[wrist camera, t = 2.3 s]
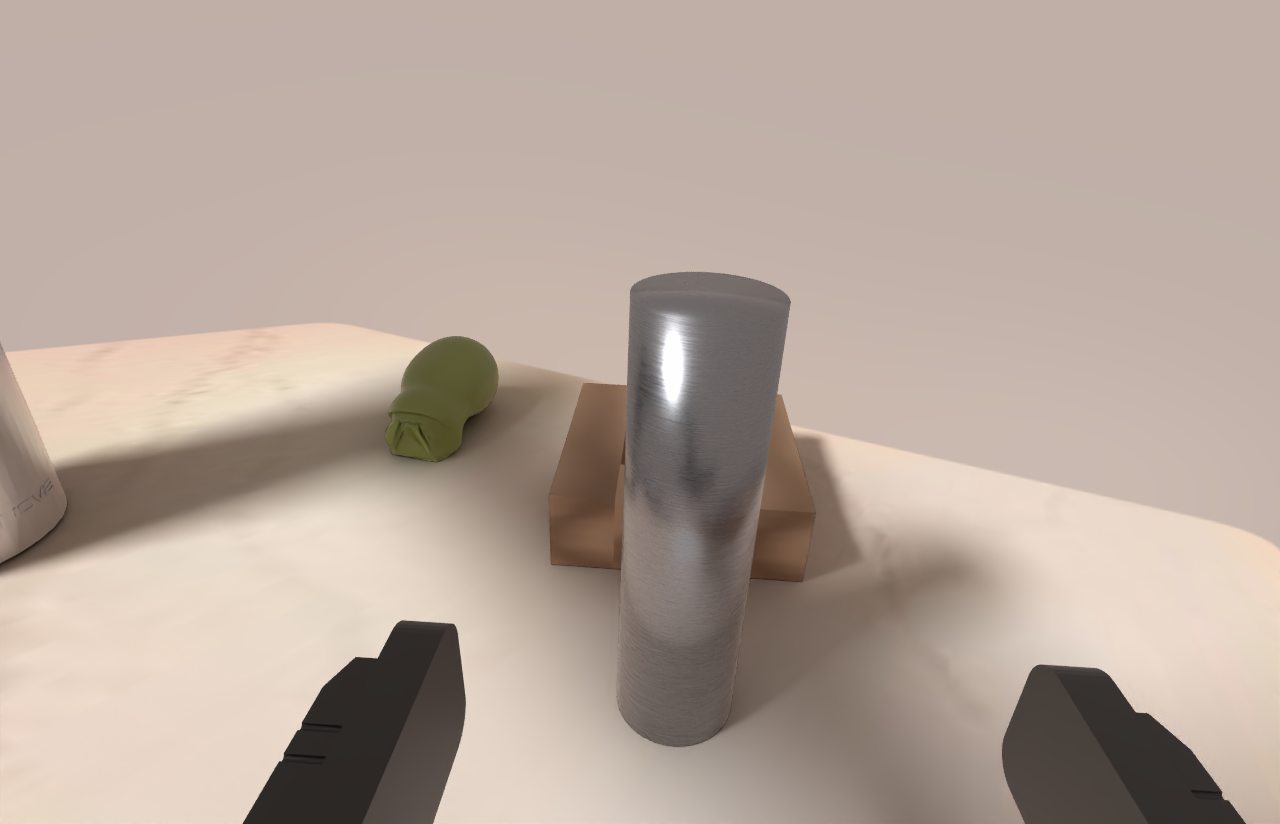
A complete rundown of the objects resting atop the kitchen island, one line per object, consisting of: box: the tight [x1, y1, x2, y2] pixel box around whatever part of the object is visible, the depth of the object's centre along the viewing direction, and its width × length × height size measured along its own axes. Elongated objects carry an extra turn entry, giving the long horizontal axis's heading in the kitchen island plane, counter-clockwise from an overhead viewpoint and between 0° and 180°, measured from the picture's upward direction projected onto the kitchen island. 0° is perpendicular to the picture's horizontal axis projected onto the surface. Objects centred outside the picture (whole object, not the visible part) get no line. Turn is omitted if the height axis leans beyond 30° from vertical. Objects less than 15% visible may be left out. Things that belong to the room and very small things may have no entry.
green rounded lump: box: [385, 336, 498, 462], centre depth 43 cm, size 6×5×10 cm
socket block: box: [549, 383, 816, 582], centre depth 37 cm, size 12×12×4 cm
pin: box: [617, 272, 791, 746], centre depth 22 cm, size 4×4×16 cm
